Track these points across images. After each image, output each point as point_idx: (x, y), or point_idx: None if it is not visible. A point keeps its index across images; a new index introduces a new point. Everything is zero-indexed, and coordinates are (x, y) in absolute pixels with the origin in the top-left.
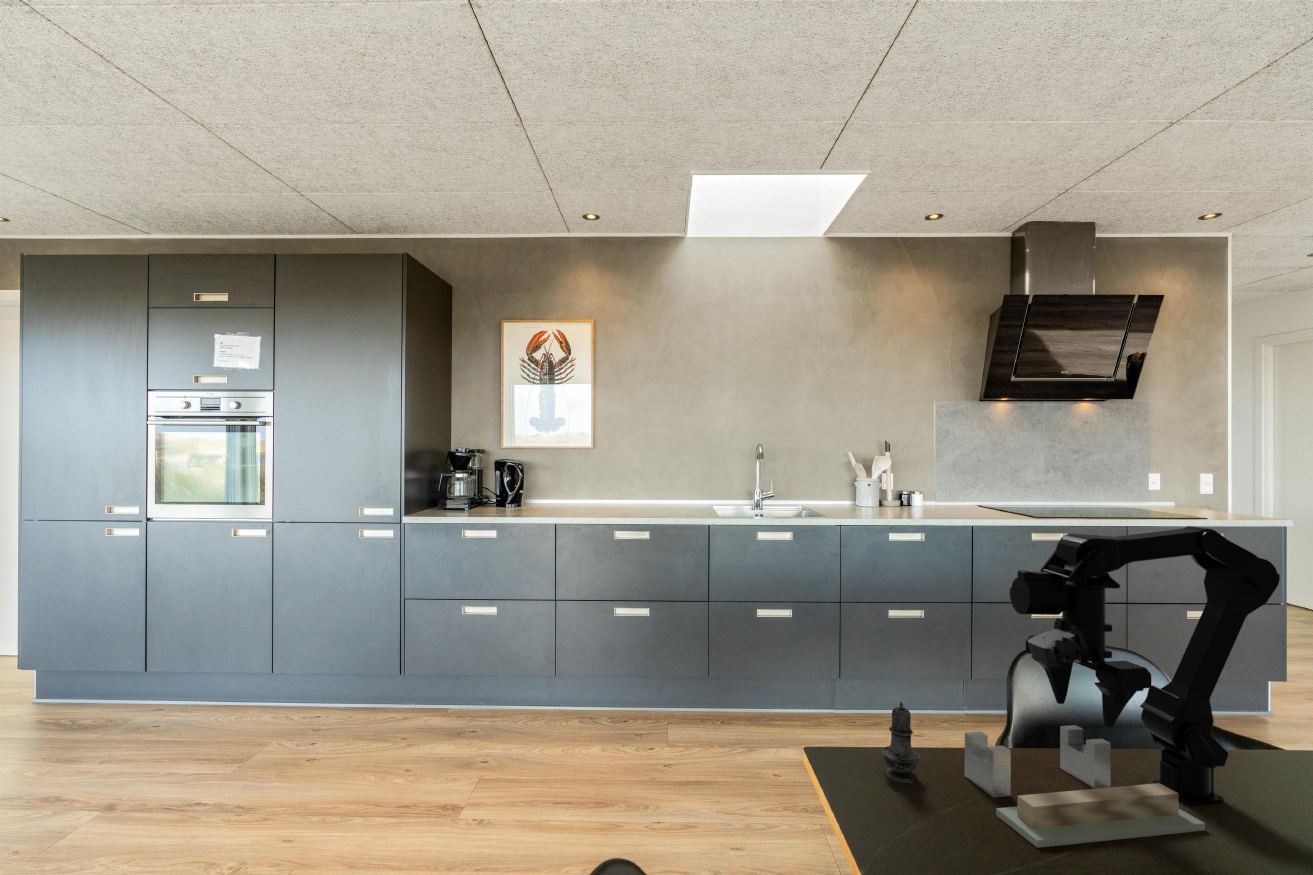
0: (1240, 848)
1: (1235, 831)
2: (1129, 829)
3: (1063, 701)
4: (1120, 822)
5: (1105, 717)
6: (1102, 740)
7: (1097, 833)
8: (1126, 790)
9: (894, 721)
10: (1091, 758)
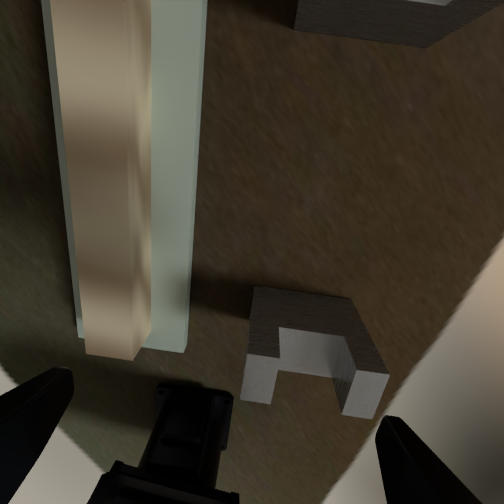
0: (33, 326)
1: (80, 367)
2: (66, 173)
3: (379, 446)
4: None
5: (4, 399)
6: (259, 393)
7: (53, 71)
8: (109, 258)
9: None
10: (259, 323)
